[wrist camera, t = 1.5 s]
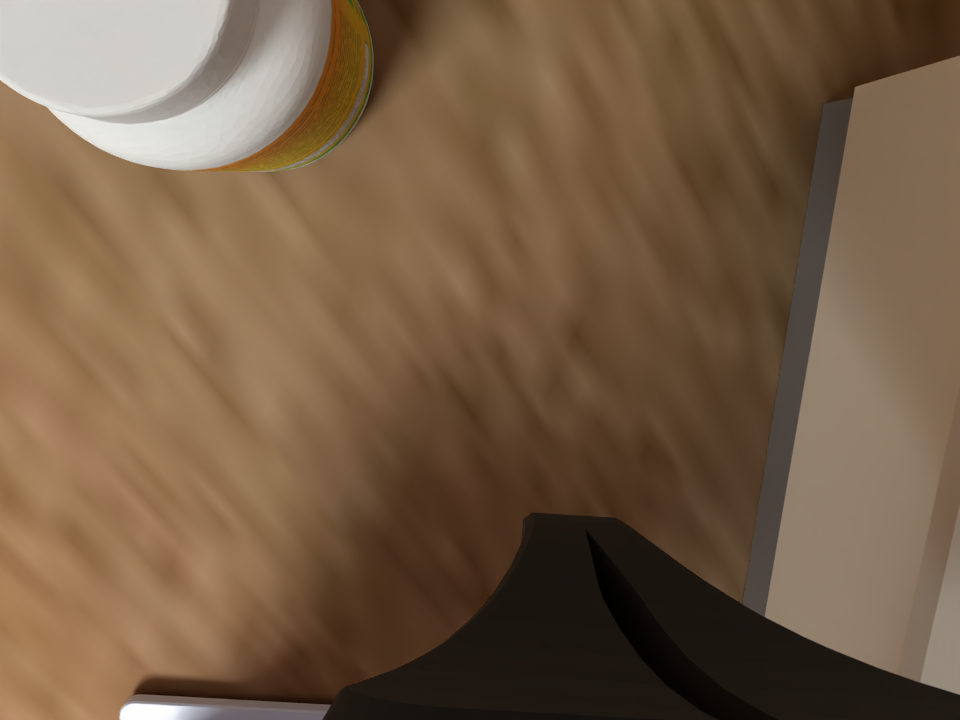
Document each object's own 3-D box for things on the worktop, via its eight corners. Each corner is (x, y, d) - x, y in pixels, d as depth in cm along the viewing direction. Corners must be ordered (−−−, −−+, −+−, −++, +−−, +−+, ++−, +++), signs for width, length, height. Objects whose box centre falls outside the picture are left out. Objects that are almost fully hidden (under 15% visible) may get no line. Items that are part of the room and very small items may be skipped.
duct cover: (873, 1271, 13) (790, 1260, 13) (752, 871, 21) (699, 864, 21) (1202, 9, 9) (1073, 1, 9) (893, 89, 17) (826, 84, 17)
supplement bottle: (414, 15, 19) (361, -137, 10) (318, 210, 20) (187, 240, 11) (213, -102, 19) (-48, -384, 9) (124, 106, 20) (-192, 42, 10)
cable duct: (966, 790, 25) (1033, 873, 22) (714, 776, 24) (747, 858, 22) (1132, 127, 20) (1243, 119, 17) (823, 103, 20) (883, 91, 17)
